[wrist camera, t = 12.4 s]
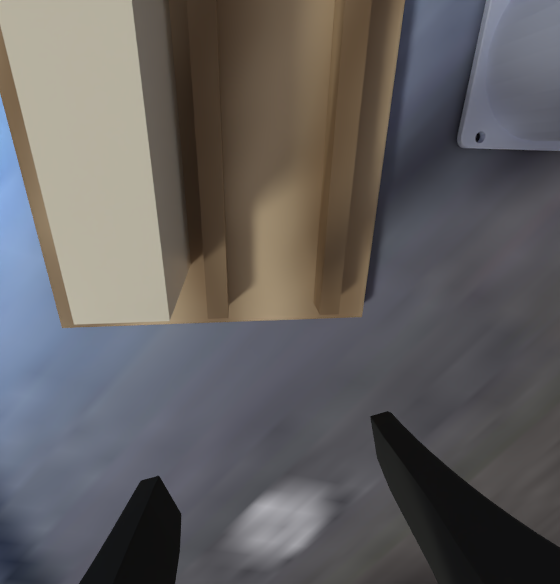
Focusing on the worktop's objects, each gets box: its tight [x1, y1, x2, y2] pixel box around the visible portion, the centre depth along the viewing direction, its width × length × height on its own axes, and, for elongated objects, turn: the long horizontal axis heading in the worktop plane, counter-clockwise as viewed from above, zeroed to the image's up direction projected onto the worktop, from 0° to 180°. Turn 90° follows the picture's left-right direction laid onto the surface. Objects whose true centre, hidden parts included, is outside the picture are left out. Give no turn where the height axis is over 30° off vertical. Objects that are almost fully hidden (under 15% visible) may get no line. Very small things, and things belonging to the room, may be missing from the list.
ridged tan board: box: [0, 0, 405, 328], centre depth 14 cm, size 16×18×2 cm
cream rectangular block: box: [0, 0, 191, 325], centre depth 11 cm, size 3×12×6 cm, turn 179°
